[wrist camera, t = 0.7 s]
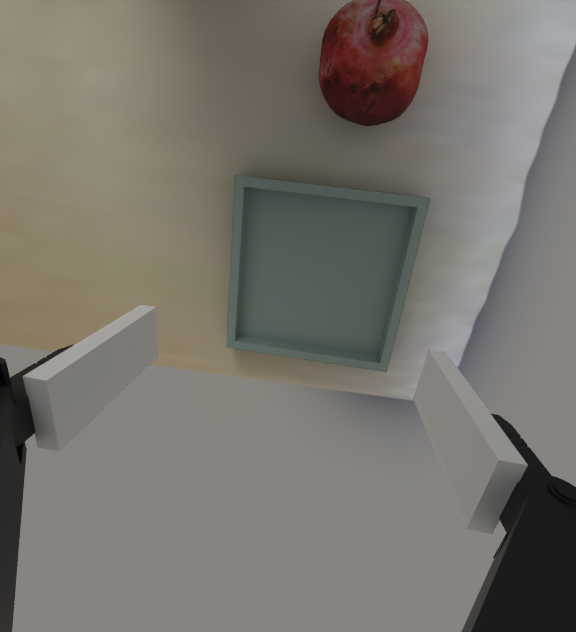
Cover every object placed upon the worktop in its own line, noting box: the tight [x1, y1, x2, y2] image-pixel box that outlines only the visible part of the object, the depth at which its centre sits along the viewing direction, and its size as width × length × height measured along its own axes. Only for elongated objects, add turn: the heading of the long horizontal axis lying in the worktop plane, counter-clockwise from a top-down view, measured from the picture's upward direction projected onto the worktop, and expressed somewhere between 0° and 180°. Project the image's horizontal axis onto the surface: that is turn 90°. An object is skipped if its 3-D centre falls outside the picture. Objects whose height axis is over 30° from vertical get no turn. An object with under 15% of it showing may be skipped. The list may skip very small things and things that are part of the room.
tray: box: [226, 175, 430, 372], centre depth 38 cm, size 20×20×2 cm
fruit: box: [319, 0, 428, 126], centre depth 27 cm, size 9×10×10 cm
